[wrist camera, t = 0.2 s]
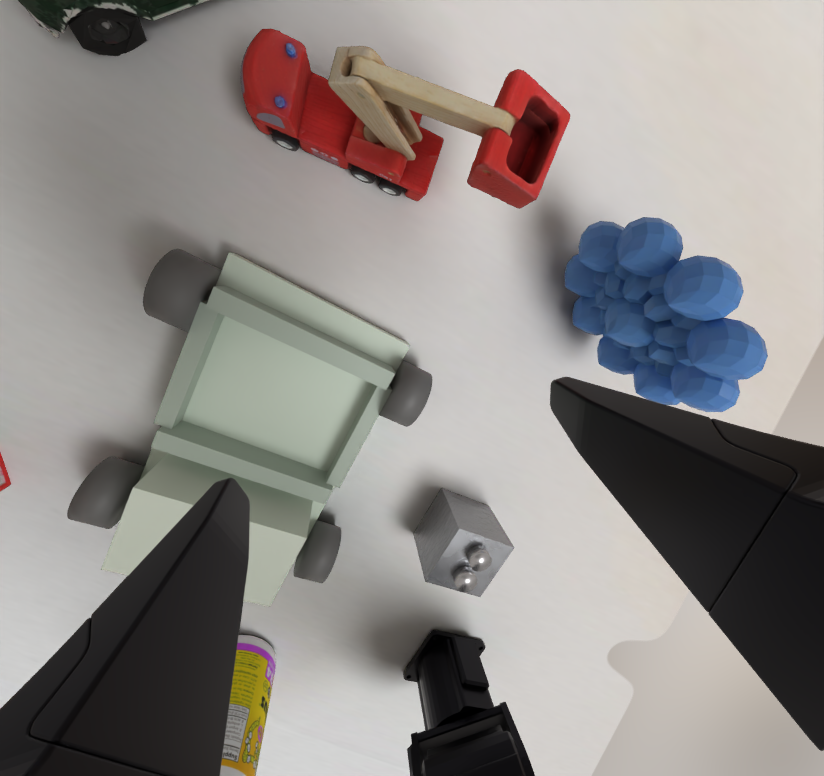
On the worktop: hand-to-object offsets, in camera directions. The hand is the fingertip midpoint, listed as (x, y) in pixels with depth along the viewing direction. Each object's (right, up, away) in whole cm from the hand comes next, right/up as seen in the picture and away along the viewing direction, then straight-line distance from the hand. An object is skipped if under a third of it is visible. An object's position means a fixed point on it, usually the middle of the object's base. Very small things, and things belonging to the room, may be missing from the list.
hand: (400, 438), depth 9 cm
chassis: (-10, -2, +15) cm, 18 cm away
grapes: (+14, +8, +16) cm, 23 cm away
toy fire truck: (-2, +15, +11) cm, 19 cm away
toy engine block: (+4, -10, +20) cm, 23 cm away
